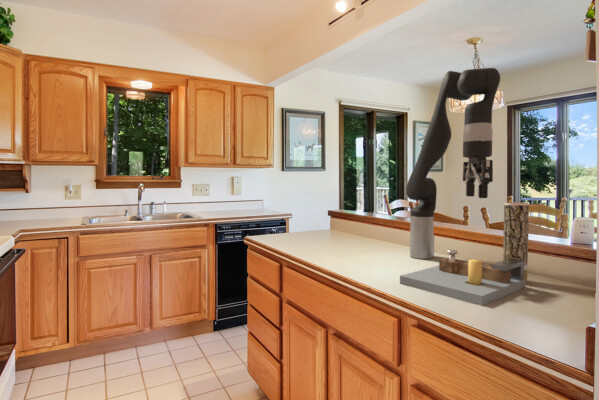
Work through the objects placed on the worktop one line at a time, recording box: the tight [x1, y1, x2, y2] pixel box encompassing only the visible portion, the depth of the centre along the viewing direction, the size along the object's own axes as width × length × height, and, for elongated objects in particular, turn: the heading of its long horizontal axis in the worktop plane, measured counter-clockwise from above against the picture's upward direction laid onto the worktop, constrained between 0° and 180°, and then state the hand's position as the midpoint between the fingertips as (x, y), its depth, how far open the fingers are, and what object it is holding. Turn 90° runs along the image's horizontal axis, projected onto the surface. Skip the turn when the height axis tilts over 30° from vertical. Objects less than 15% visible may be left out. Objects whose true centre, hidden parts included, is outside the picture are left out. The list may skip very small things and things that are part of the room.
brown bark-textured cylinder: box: [502, 201, 530, 283], centre depth 117 cm, size 7×7×25 cm
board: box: [399, 265, 526, 306], centre depth 114 cm, size 26×26×2 cm
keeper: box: [490, 258, 524, 281], centre depth 108 cm, size 12×4×8 cm, turn 127°
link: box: [438, 257, 511, 283], centre depth 116 cm, size 21×6×4 cm, turn 37°
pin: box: [467, 259, 483, 286], centre depth 107 cm, size 4×4×9 cm
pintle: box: [446, 249, 458, 262], centre depth 121 cm, size 3×3×9 cm
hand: (476, 197), depth 106 cm, fingers open, 8 cm apart
